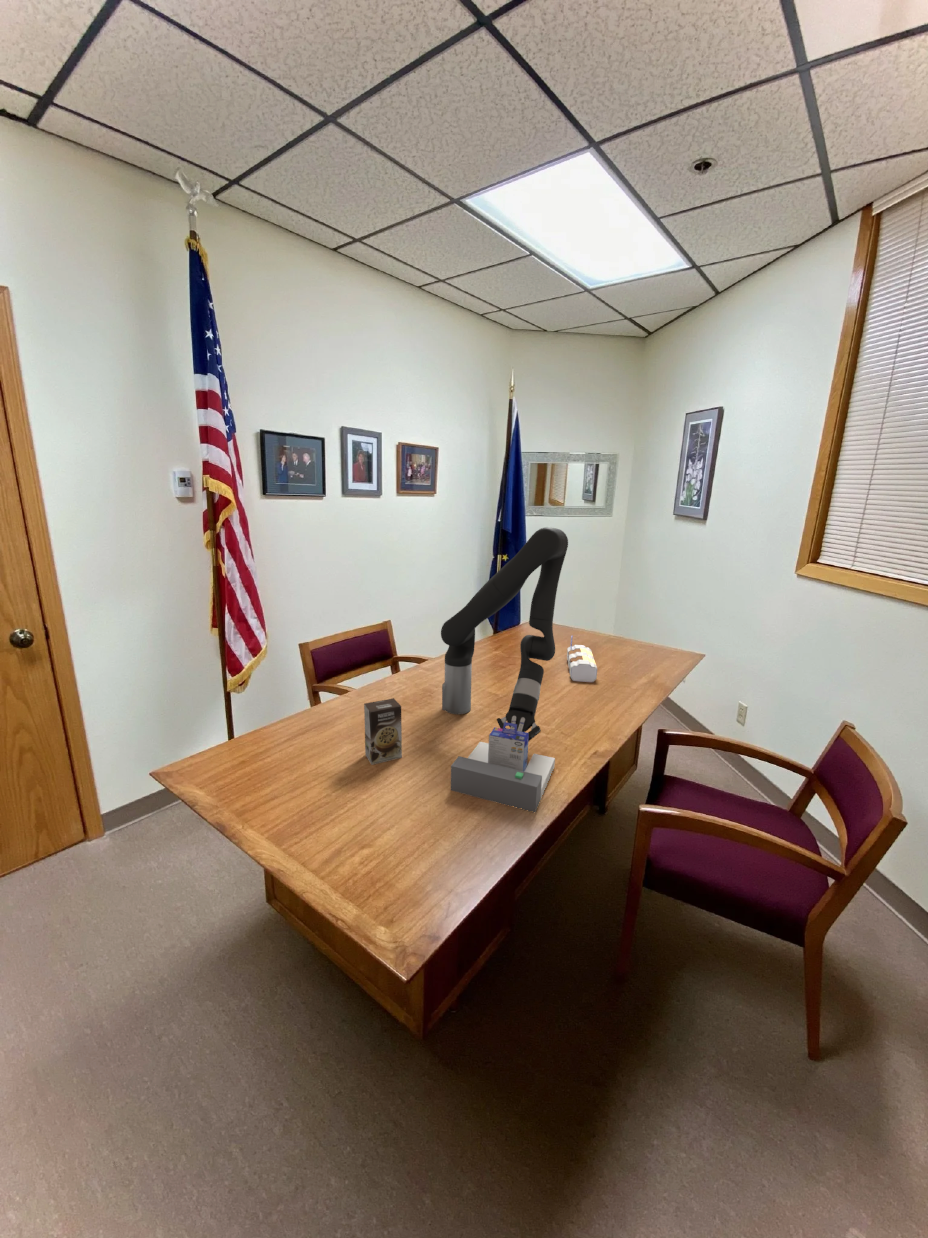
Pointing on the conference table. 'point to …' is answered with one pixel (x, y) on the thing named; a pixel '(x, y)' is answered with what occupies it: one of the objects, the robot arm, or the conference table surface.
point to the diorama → (582, 664)
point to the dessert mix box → (383, 731)
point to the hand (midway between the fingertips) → (511, 755)
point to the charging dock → (501, 779)
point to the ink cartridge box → (508, 747)
